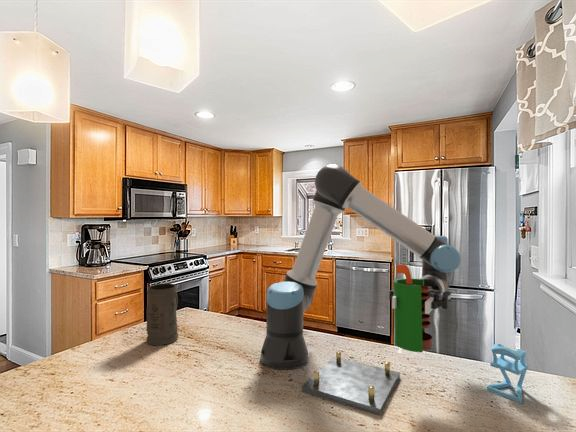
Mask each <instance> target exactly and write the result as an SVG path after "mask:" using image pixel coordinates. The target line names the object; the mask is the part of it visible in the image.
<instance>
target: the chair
mask: <svg viewBox="0 0 576 432" xmlns="http://www.w3.org/2000/svg"><path fill="white" fill-rule="evenodd" d="M491 351H492V356H493V360H492V361H491V362H490V363H489V364H490V367H492V368H495V369H499V370H500V372H501V374H502V376H503V377H504V381H503V382H498V383H492V384H489V385H486V390H487V391H488V392H490V393H493V394H496V395H498V396H501V397H504V398H507V399H509V400H512V401H514V402H517V403H523V392H522V391H523V383H524V380H525V377H526V373H527V370H528V369H529V365H528V364H526V363H525V362H526V361H525V360H526V359H525V358H526V355H527V351H525V350H523V349H517V350H515V349H511V348H510V347H507V346H504V345H503V344H501V343H494V344H493V345H492V346H491ZM497 355H500V356H499V357H498V356H497ZM505 356H506V357H508V358H506V357H505ZM509 358H510V359H509ZM511 359H513V360H511ZM519 360H520V361H519ZM506 371H507V372H509V373H511V374H514V375H517V376H519V378H518V381H517V384H516V394H517V396H515V395H513V394H510V393H508V392H506V391H502V390H500V389H502V388H503V389H504V388H507V387H510V386H512V382H511V379H510V378H509V376H508V374H507V372H506Z"/></svg>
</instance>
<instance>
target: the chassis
mask: <svg viewBox="0 0 576 432" xmlns="http://www.w3.org/2000/svg"><path fill="white" fill-rule="evenodd" d="M335 353H336V354H335V355H336V356H333V357H332V358H331V359H329V360H328V362H326V363H325V364H323V366H322V367H321V368H320V369H318V370H316V371H313V375H312V376H310V378H309V379H308V380H306V381H305V383H303V384H302V385H301V392H302V393H305V394H309V395H312V396H315V397H318V398H321V399H324V400H328V401H329V402H330V401H331V402H334V403H337V404H340V405H344V406H347V407H349V408H353V409H357V410H360V411H362V412H366V413H369V414H371V415H372V414H373V415H376V416H379V417H381V415H382V413H383V411H384V409H385V407H386V406H387V403H388V402H389V400H390V397H391V395H392V394H393V392H394V390H395V388H396V386H397V384H398V382H399V380H400V378H401V375H400V374H401V373H400V371H396V370H392V369H391V363H390V362H389V361H385V362H384V368H383V367H378V366H374V365H370V364H365V363H362V362H361V363H360V362H357V361H353V360H348V359H344V358H342V351H341V350H340V351H338V350H337V351H335Z"/></svg>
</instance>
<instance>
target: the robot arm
mask: <svg viewBox="0 0 576 432" xmlns="http://www.w3.org/2000/svg"><path fill="white" fill-rule="evenodd" d="M314 187H315V189H316V190H315V194H314V196H313V198H312V202H313V205H314V208H313V211H312V214H311V217H310V219H309V223H308V226H307V227H306V231H305V233H304V235H303V239H302V242H301V245H300V248H299V250H298V253H297V255H296V258H295V261H294V264H293V266H292V267H293V268H292V269H290V270H288V271H286V275H284V276H285V277H284V279H283V281H279V282H274V283H272V284H271V285H270V286H268V288H267V289H266V297H265V300H266V333H265V338H264V341H263V344H262V346H261V350H260V362H261V364H263V366H266V367H268V368H271V369H274V370H275V369H277V370H293V369H298V368H301V367H303V366H304V365H306V364H308V362H309V350H308V348H307V347H308V346H307V344H306V340H305V336H304V314H305V313H306V311H307V310H308V309H309V308H310V306H311V305H312V303H313V301H314V298H315V295H314V294H315V291H316V288H317V286H318V281H317V280H316V277H317V273H318V270H319V268H320V266H321V265H320V264H321V262H322V260H323V258H324V254H325V251H326V249H327V246H328V243H329V241H330V238H331V235H332V233H333V230H334V227H335V224H336V222H337V219H338V216H339V215H340V214H342V213H345V209H346V208H348V209H349V210H351V211H352V212H354V213H355V214H357V215H358V216H360V217H361V218H363V219H364V220H366V222H368V223H369V224H371V225H373V226H374V227H375V228H377V230H379V231H381V232H383V233H384V234H385V235H387V236H388V237H390V238H391V239H392V240H394V241H396V242H397V243H398V244H399V245H401V246H402V247H404V248H406V249H407V250H408V251H410V253H413V254H414V255H416V256H417V257H418V258H420V259H421V261H422V262H421V264H422V265H421V269H422V270H421V277H420V278H419V279H423V280H424V286H427V287H429V288H430V291H429V292H426V293H427V294H429V295H430V298H429V299H427V301H426V302H425V314H429V315H430V313H431V312H432V311H433V310H437V309H439V308H440V307H441V309H444V310H446V309H447V310H448V308H449V307H448V306H449V303H450V302H451V300H452V299H451V298H452V297H451V296H452V295H451V294H452V291H448V290H449V287H450V280H449V279H450V278H449V277H448V275H449V273H452V272H455V271H456V270H457V269H458V268H459V267H460V265H461V262H462V261H461V260H462V259H461V258H462V257H461V254H460V252H459V251H458V250H457V248H455V247H454V246H452V245H450V244H449V241H448V240H449V239H448V237H447V236H445V235H435V234H433V233H432V232H430V231H428V230H427V229H425V227H422V226H421V225H419V224H418V223H417V222H415V221H413V220H412V219H410V218H409V217H408V216H406V215H404V214H403V213H402V212H400V211H399V210H397V209H396V208H394V207H392V206H391V205H390V204H389V203H387V202H385V201H384V200H382V199H381V198H379V197H378V196H377V195H375V194H373V192H371V191H369V190H368V189H366V188H365V187H363V184H362V182H361V181H360V180H358V179H357V178H356V177H355V176H354V175H352V174H351V173H350V172H349V171H348V170H347V169H345V168H344V167H343V166H341V165H339V164H328V165H327V164H326V165H325V166H323V167H321V168H320V169H319V171H318V172H317V173H316V176H315V179H314ZM388 293H389V295H388V296H389V297H388V300H389V301H391V309H393V310H394V309H396V308H397V297H396V296H394V288H393V289H391V290H389V292H388Z"/></svg>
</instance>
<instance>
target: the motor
mask: <svg viewBox="0 0 576 432" xmlns="http://www.w3.org/2000/svg"><path fill="white" fill-rule="evenodd" d="M395 274H396V275H397V274H404V276H405V278H399V279H397V278H396V279H394V280H393V281H392V282H393V285H392V286H393V289H394V296H396V297H397V308H396V309H393V319H394V320H393V324H394V326H393V327H394V331H393V332H394V344H395V346H396V347H398V348H400V349H402V350H404V351H408V352H414V353H424V352H423V351H428V350H432V349H433V347H434V345H433V343H434V342H433V335H431V334H430V333H429V332H428V333H427V332H426V329H429V328H431V327H432V326H431V325H432V324H431V322H430V321H431V315H430V313H429V314H425V302H426V301H427V299H429V298H430V295H429V294H427V293H426V292H429V291H430V288H429V287H427V286H424V280H423V279H420V278H412V274H411V271H410V268H409V267H408V265H407V264H403V263H400V264H395Z"/></svg>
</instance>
